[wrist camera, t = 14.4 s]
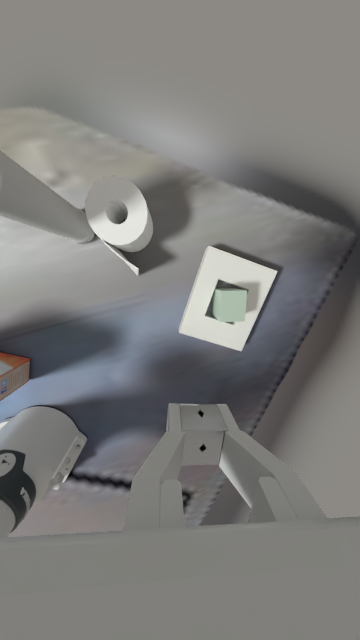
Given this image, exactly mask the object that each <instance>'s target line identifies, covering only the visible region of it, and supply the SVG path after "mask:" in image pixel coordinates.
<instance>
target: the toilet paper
mask: <svg viewBox="0 0 360 640" xmlns="http://www.w3.org/2000/svg"><path fill="white" fill-rule="evenodd" d="M85 212H86V216H87V220H88V223H89V224H90V226H91V228H92V230H93V231H94V232H95V234H96V235H97V236H98V237H99V238H100V239H101V240H102V241H103V242H104V243H105V244H106V245H107V246H108V247H109V248H110V249H111V250H112V251H113V252H114V253H115V254H117V255H118V256H119V257H120V258H121V259H123V260H124V261H125V262H126V263H127V264H128V265H129V267H130V268H131V269H132V270H133V271H134V272H135V273H136V274H137V275H138V276H139V268H137V267H136V266H134V265H133V264H131V263H129V262H128V260H127V259H126V258H125V257H124V255H123V254H122V253H121V251H120V250H119V249H121V250H123V251H127V252H136V251H140V250H141V249H143V248H145V247H146V246H147V245H148V243H149V242H150V240H151V238H152V235H153V222H152V218H151V215H150V212H149V209H148V207H147V204H146V201H145V199H144V197H143V195H142V193H141V191H140V190H139V189H138V188H137V187H136V186H135V185H134V184H133V183H132V182H130V181H129V180H127V179H125V178H123V177H118V176H108V177H103V178H101V179H100V180H98V181H97V182H95V183H94V184H93V186H92V187H91V188H90V190H89V191H88V194H87V198H86V201H85ZM125 218H127V219H126V220H125V222H123V223H122V221H123V220H124V219H125ZM121 223H122V224H121ZM118 248H119V249H118Z"/></svg>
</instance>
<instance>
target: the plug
mask: <svg viewBox="0 0 360 640" xmlns="http://www.w3.org/2000/svg"><path fill="white" fill-rule="evenodd" d="M246 299H247V290H241V289H236V288H216V289H214V292H213V303H212V314H213V315H214V316H215V317H216V318H217V319H218V320H219V321H220V322H241V321H245V311H246Z"/></svg>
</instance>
